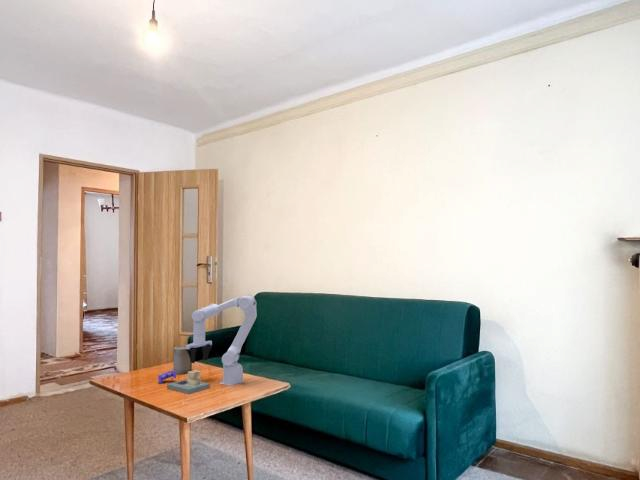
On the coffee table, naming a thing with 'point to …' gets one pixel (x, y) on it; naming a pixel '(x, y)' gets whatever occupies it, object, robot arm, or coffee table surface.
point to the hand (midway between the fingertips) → (199, 361)
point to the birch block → (193, 378)
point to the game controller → (167, 376)
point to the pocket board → (187, 387)
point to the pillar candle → (181, 360)
